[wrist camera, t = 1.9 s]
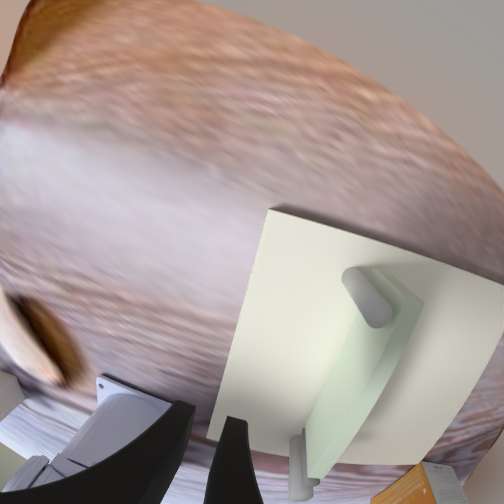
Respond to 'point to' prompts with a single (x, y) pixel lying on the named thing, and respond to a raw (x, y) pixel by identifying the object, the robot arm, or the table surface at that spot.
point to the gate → (358, 378)
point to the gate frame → (335, 333)
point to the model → (9, 394)
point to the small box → (424, 487)
